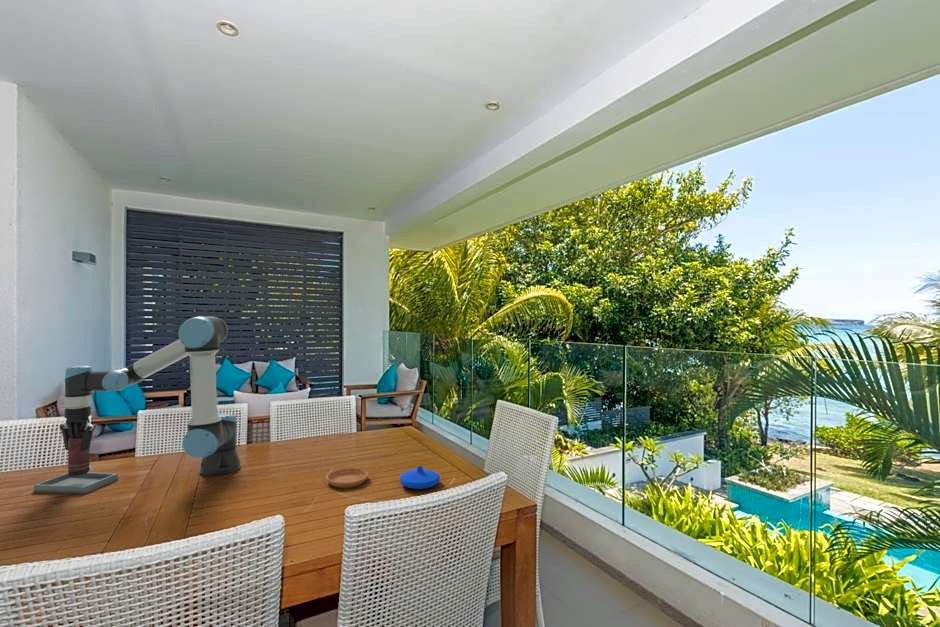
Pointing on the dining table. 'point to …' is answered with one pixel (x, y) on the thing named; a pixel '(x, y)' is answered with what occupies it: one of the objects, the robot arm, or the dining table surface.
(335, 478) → the saucer
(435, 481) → the blue lid
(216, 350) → the robot arm
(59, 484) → the tray
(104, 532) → the dining table surface
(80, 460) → the can
